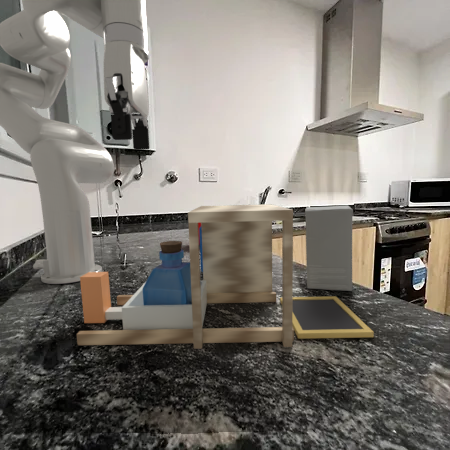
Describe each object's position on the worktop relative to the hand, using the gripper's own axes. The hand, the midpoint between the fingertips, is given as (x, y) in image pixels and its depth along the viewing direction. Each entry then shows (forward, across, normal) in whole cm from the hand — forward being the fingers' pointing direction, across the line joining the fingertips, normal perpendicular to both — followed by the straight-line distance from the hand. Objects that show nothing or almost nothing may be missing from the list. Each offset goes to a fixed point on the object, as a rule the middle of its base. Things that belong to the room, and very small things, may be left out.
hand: (133, 144), depth 49 cm
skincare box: (+28, 0, +37) cm, 47 cm away
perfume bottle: (+29, +14, +9) cm, 33 cm away
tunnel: (+28, +13, +19) cm, 36 cm away
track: (+28, +13, +12) cm, 33 cm away
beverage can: (+28, -10, +14) cm, 33 cm away
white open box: (+28, +13, +5) cm, 31 cm away
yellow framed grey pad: (+28, +13, +31) cm, 44 cm away
